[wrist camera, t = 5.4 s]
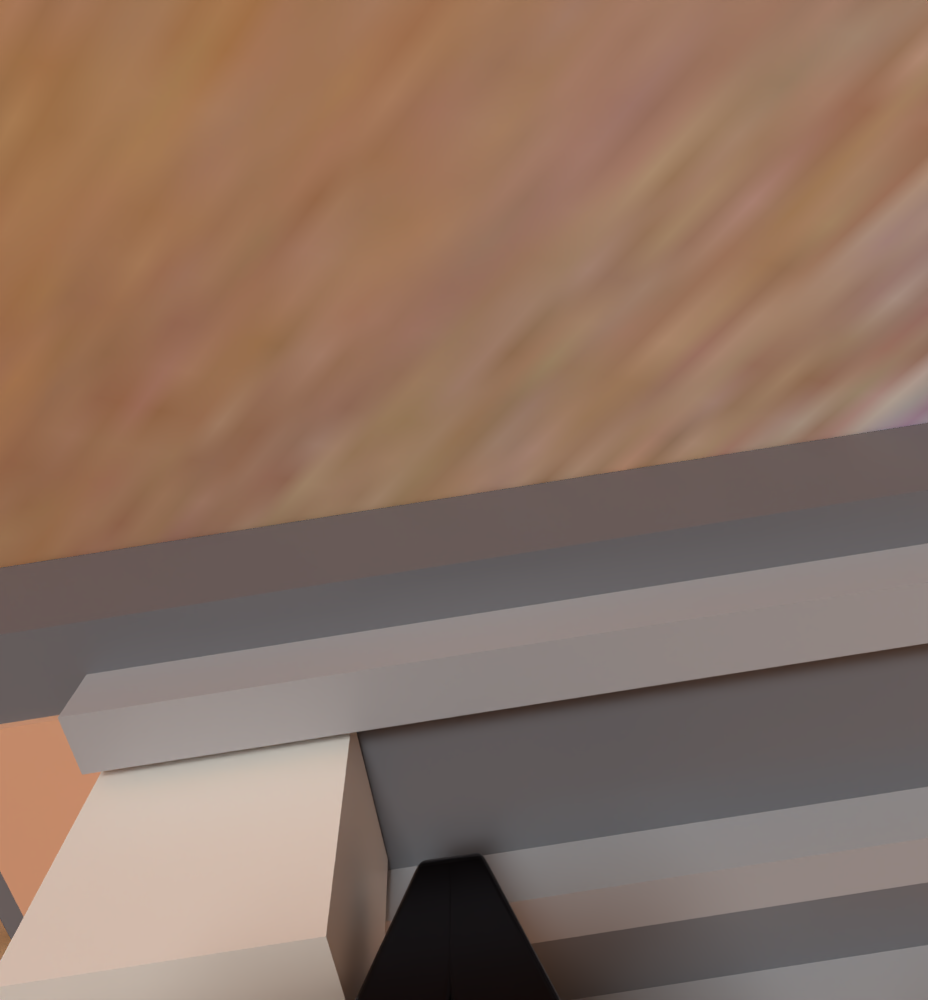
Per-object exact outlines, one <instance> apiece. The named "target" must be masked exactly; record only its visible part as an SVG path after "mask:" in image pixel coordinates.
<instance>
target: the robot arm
mask: <svg viewBox="0 0 928 1000" xmlns="http://www.w3.org/2000/svg"><path fill="white" fill-rule="evenodd" d="M355 1000H561V999H560V997H559V995H558V994H557V992H556V990H555V988H554V986H553V984H552V982H551V980H550V979H549V977H548V975H547V973H546V971H545V969H544V967H543V965H542V964H541V962H540V960H539V958H538V956H537V954H536V952H535V951H534V949H533V947H532V945H531V943H530V941H529V939H528V937H527V936H526V934H525V932H524V930H523V928H522V926H521V924H520V922H519V921H518V919H517V917H516V915H515V913H514V911H513V909H512V907H511V906H510V904H509V902H508V900H507V898H506V896H505V894H504V893H503V891H502V889H501V887H500V885H499V883H498V881H497V879H496V878H495V876H494V874H493V872H492V870H491V868H490V866H489V864H488V863H487V861H486V859H485V857H484V856H483V855H482V854H480V853H471V854H464V855H457V856H450V857H443V858H436V859H429V860H424V861H422V862H421V863H419V865H418V866H417V868H416V870H415V872H414V874H413V876H412V879H411V881H410V883H409V885H408V887H407V889H406V892H405V894H404V896H403V898H402V900H401V902H400V904H399V907H398V909H397V911H396V913H395V915H394V917H393V919H392V922H391V924H390V926H389V928H388V930H387V932H386V935H385V937H384V939H383V941H382V943H381V945H380V947H379V950H378V952H377V954H376V956H375V958H374V960H373V962H372V965H371V967H370V969H369V971H368V973H367V975H366V978H365V980H364V982H363V984H362V986H361V988H360V990H359V993H358V995H357V997H356V999H355Z"/></svg>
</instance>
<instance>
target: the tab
mask: <svg viewBox="0 0 928 1000" xmlns="http://www.w3.org/2000/svg"><path fill="white" fill-rule="evenodd" d="M387 869H388V858H387V854H386V850H385V846H384V842H383V838H382V834H381V830H380V826H379V822H378V817H377V813H376V809H375V805H374V801H373V797H372V793H371V789H370V785H369V781H368V777H367V773H366V769H365V765H364V761H363V757H362V753H361V749H360V745H359V741H358V737H357V733H356V732H353V733H347V734H340V735H334V736H327V737H321V738H314V739H308V740H302V741H295V742H289V743H282V744H276V745H269V746H263V747H257V748H250V749H244V750H237V751H231V752H224V753H218V754H212V755H205V756H199V757H192V758H186V759H179V760H173V761H166V762H160V763H154V764H147V765H141V766H134V767H128V768H121V769H115V770H109V771H102V772H101V773H100V775H99V777H98V779H97V781H96V783H95V785H94V786H93V788H92V790H91V792H90V794H89V796H88V798H87V800H86V801H85V803H84V805H83V807H82V809H81V811H80V813H79V815H78V816H77V818H76V820H75V822H74V824H73V826H72V828H71V829H70V831H69V833H68V835H67V837H66V839H65V841H64V843H63V844H62V846H61V848H60V850H59V852H58V854H57V856H56V858H55V859H54V861H53V863H52V865H51V867H50V869H49V871H48V873H47V874H46V876H45V878H44V880H43V882H42V884H41V886H40V888H39V889H38V891H37V893H36V895H35V897H34V899H33V901H32V902H31V904H30V906H29V908H28V910H27V912H26V914H25V916H24V917H23V919H22V921H21V923H20V925H19V927H18V929H17V931H16V932H15V934H14V936H13V938H12V940H11V942H10V944H9V946H8V947H7V949H6V951H5V953H4V955H3V957H2V959H1V960H0V1000H355V999H356V997H357V995H358V993H359V990H360V988H361V986H362V984H363V982H364V980H365V978H366V975H367V973H368V971H369V969H370V967H371V965H372V962H373V960H374V958H375V956H376V954H377V952H378V950H379V947H380V945H381V943H382V941H383V939H384V937H385V916H386V892H387Z"/></svg>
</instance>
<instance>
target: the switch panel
mask: <svg viewBox="0 0 928 1000" xmlns="http://www.w3.org/2000/svg"><path fill="white" fill-rule="evenodd" d="M353 732H356V733H357V737H358V741H359V745H360V749H361V753H362V757H363V761H364V765H365V769H366V773H367V777H368V781H369V785H370V789H371V793H372V797H373V801H374V805H375V809H376V813H377V817H378V822H379V826H380V830H381V834H382V838H383V842H384V846H385V850H386V854H387V858H388V869H387V892H386V916H385V935H386V932H387V930H388V928H389V926H390V924H391V922H392V919H393V917H394V915H395V913H396V911H397V909H398V907H399V904H400V902H401V900H402V898H403V896H404V894H405V892H406V889H407V887H408V885H409V883H410V881H411V879H412V876H413V874H414V872H415V870H416V868H417V866H418V865H419V863H421V862H422V861H424V860H429V859H436V858H443V857H450V856H457V855H464V854H471V853H480V854H482V855H483V856H484V857H485V859H486V861H487V863H488V864H489V866H490V868H491V870H492V872H493V874H494V876H495V878H496V879H497V881H498V883H499V885H500V887H501V889H502V891H503V893H504V894H505V896H506V898H507V900H508V902H509V904H510V906H511V907H512V909H513V911H514V913H515V915H516V917H517V919H518V921H519V922H520V924H521V926H522V928H523V930H524V932H525V934H526V936H527V937H528V939H529V941H530V943H531V945H532V947H533V949H534V951H535V952H536V954H537V956H538V958H539V960H540V962H541V964H542V965H543V967H544V969H545V971H546V973H547V975H548V977H549V979H550V980H551V982H552V984H553V986H554V988H555V990H556V992H557V994H558V995H559V997H560V999H561V1000H928V423H925V424H918V425H912V426H906V427H899V428H893V429H886V430H880V431H874V432H867V433H861V434H854V435H848V436H842V437H835V438H829V439H822V440H816V441H810V442H803V443H797V444H790V445H784V446H778V447H771V448H765V449H758V450H752V451H746V452H739V453H733V454H726V455H720V456H714V457H707V458H701V459H694V460H688V461H682V462H675V463H669V464H662V465H656V466H650V467H643V468H637V469H630V470H624V471H618V472H611V473H605V474H598V475H592V476H586V477H579V478H573V479H566V480H560V481H554V482H547V483H541V484H534V485H528V486H522V487H515V488H509V489H502V490H496V491H490V492H483V493H477V494H470V495H464V496H458V497H451V498H445V499H438V500H432V501H426V502H419V503H413V504H406V505H400V506H394V507H387V508H381V509H374V510H368V511H362V512H355V513H349V514H342V515H336V516H330V517H323V518H317V519H310V520H304V521H298V522H291V523H285V524H278V525H272V526H266V527H259V528H253V529H246V530H240V531H234V532H227V533H221V534H214V535H208V536H202V537H195V538H189V539H182V540H176V541H170V542H163V543H157V544H150V545H144V546H138V547H131V548H125V549H118V550H112V551H106V552H99V553H93V554H86V555H80V556H74V557H67V558H61V559H54V560H48V561H42V562H35V563H29V564H22V565H16V566H10V567H3V568H0V919H1V921H2V923H3V925H4V927H5V929H6V931H7V933H8V934H9V936H10V938H11V940H12V938H13V936H14V934H15V932H16V931H17V929H18V927H19V925H20V923H21V921H22V919H23V917H24V916H25V914H26V912H27V910H28V908H29V906H30V904H31V902H32V901H33V899H34V897H35V895H36V893H37V891H38V889H39V888H40V886H41V884H42V882H43V880H44V878H45V876H46V874H47V873H48V871H49V869H50V867H51V865H52V863H53V861H54V859H55V858H56V856H57V854H58V852H59V850H60V848H61V846H62V844H63V843H64V841H65V839H66V837H67V835H68V833H69V831H70V829H71V828H72V826H73V824H74V822H75V820H76V818H77V816H78V815H79V813H80V811H81V809H82V807H83V805H84V803H85V801H86V800H87V798H88V796H89V794H90V792H91V790H92V788H93V786H94V785H95V783H96V781H97V779H98V777H99V775H100V773H101V772H102V771H109V770H115V769H121V768H128V767H134V766H141V765H147V764H154V763H160V762H166V761H173V760H179V759H186V758H192V757H199V756H205V755H212V754H218V753H224V752H231V751H237V750H244V749H250V748H257V747H263V746H269V745H276V744H282V743H289V742H295V741H302V740H308V739H314V738H321V737H327V736H334V735H340V734H347V733H353Z"/></svg>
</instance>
